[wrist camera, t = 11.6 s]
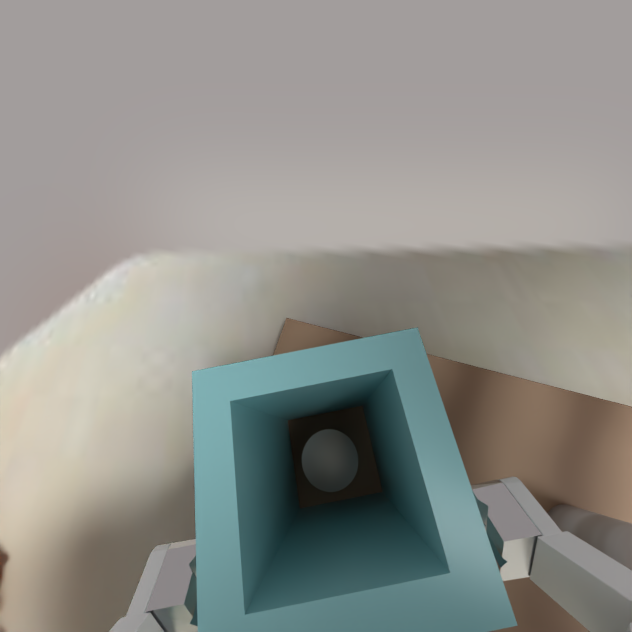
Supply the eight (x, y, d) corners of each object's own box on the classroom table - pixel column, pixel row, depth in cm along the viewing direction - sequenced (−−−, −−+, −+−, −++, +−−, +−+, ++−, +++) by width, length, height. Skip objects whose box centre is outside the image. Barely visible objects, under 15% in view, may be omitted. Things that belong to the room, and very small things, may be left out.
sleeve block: (374, 384, 18) (417, 327, 8) (407, 510, 15) (517, 625, 6) (268, 406, 18) (191, 371, 8) (283, 535, 15) (198, 691, 6)
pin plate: (645, 418, 17) (774, 411, 12) (677, 756, 12) (912, 976, 7) (289, 325, 21) (274, 290, 16) (208, 559, 16) (149, 616, 11)
